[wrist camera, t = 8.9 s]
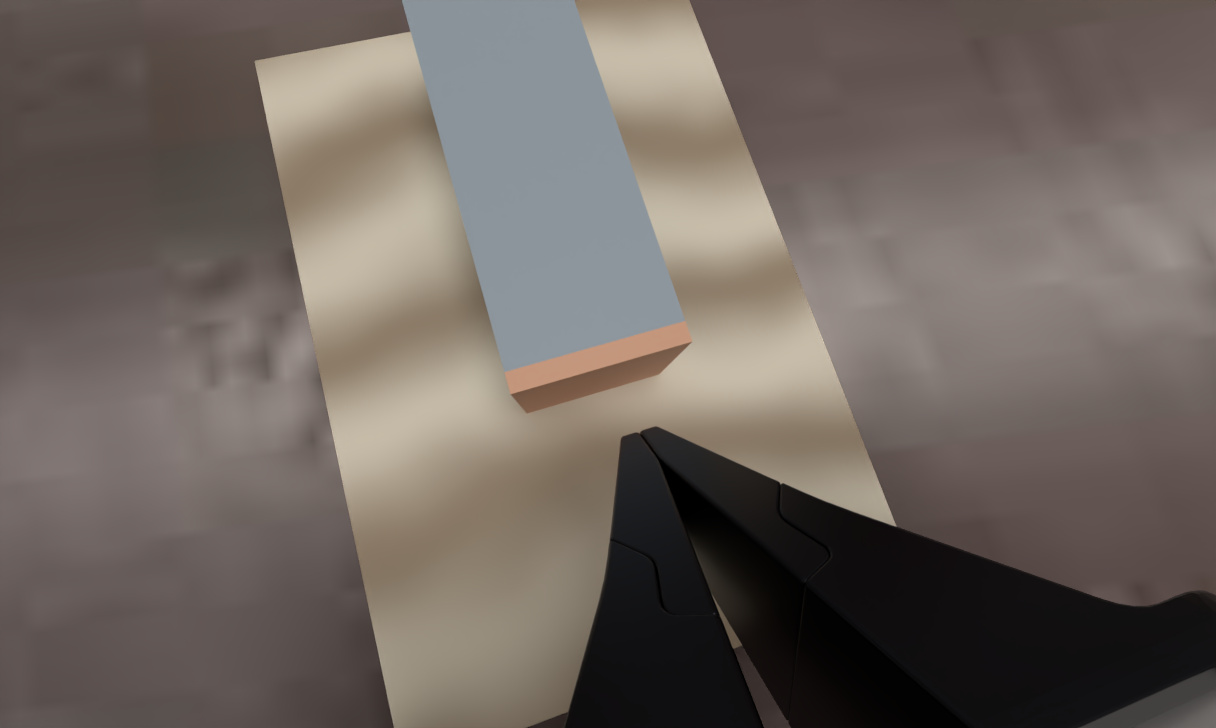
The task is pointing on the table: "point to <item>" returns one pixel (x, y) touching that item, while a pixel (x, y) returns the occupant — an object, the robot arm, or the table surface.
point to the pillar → (546, 198)
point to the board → (474, 376)
